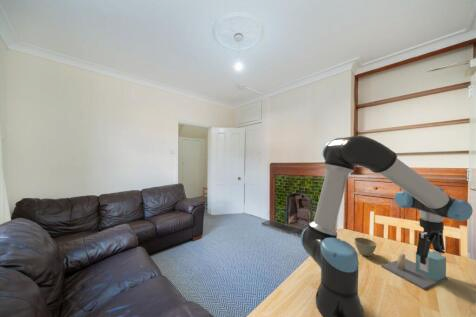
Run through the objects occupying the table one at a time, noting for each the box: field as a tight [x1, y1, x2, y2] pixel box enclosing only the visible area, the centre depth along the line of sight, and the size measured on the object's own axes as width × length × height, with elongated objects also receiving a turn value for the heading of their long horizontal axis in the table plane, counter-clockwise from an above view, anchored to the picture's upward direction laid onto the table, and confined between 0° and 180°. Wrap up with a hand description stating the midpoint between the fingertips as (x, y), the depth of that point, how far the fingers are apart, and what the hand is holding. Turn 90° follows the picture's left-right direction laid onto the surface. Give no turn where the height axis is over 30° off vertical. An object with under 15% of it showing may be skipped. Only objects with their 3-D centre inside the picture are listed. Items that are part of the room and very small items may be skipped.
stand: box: [381, 252, 449, 290], centre depth 84 cm, size 18×16×8 cm
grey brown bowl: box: [354, 237, 377, 257], centre depth 101 cm, size 10×10×7 cm
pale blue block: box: [415, 250, 447, 281], centre depth 82 cm, size 7×7×9 cm
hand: (430, 267), depth 82 cm, fingers open, 9 cm apart
